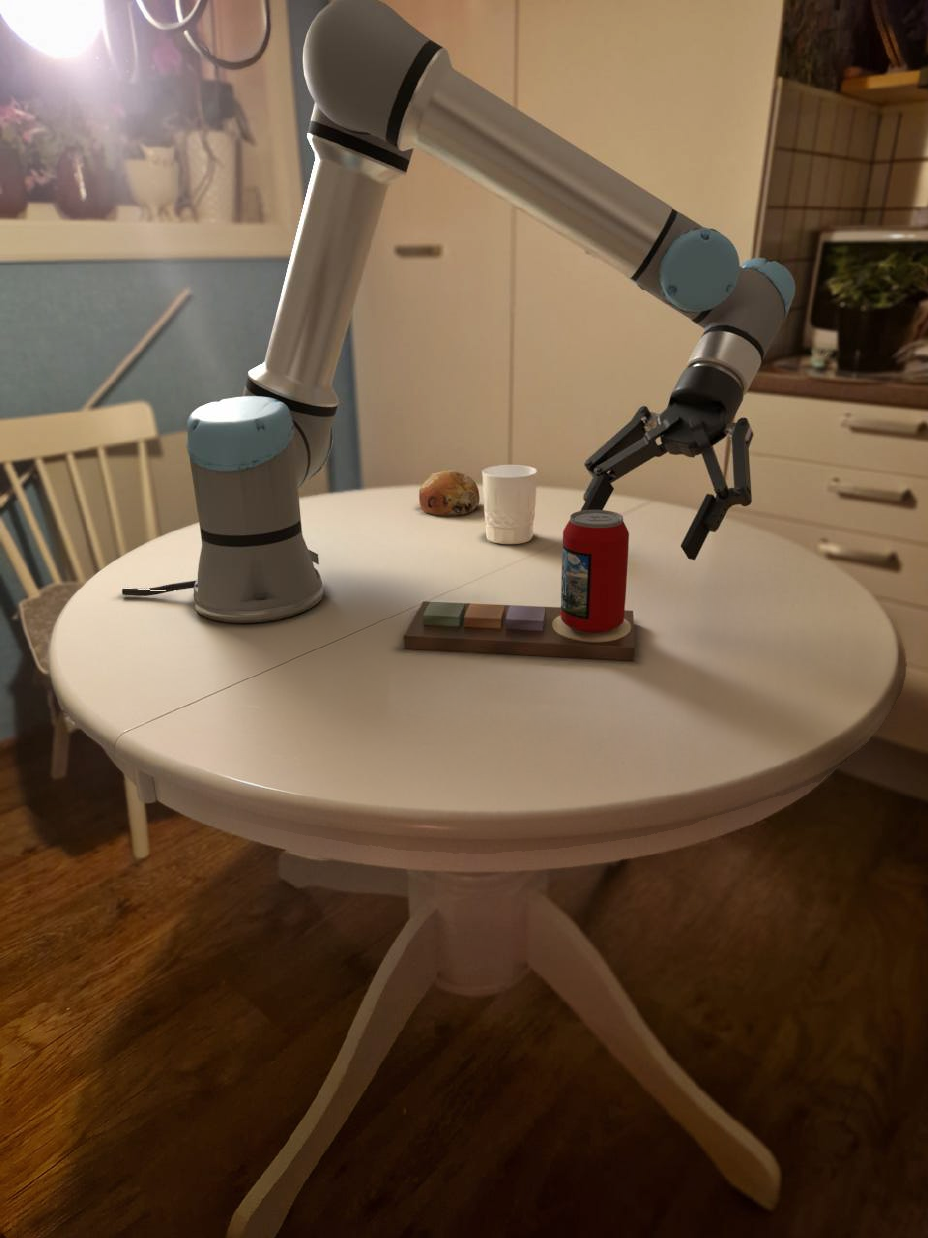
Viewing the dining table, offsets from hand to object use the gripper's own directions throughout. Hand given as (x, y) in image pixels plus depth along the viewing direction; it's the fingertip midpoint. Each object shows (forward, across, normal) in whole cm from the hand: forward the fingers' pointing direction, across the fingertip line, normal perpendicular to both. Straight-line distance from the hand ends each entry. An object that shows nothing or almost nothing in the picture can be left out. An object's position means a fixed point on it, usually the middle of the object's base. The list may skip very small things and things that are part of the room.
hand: (632, 540), depth 94 cm
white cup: (-4, +30, -17) cm, 35 cm away
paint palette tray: (+15, +6, +1) cm, 16 cm away
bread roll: (-8, +48, -21) cm, 53 cm away
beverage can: (+10, 0, -1) cm, 11 cm away
